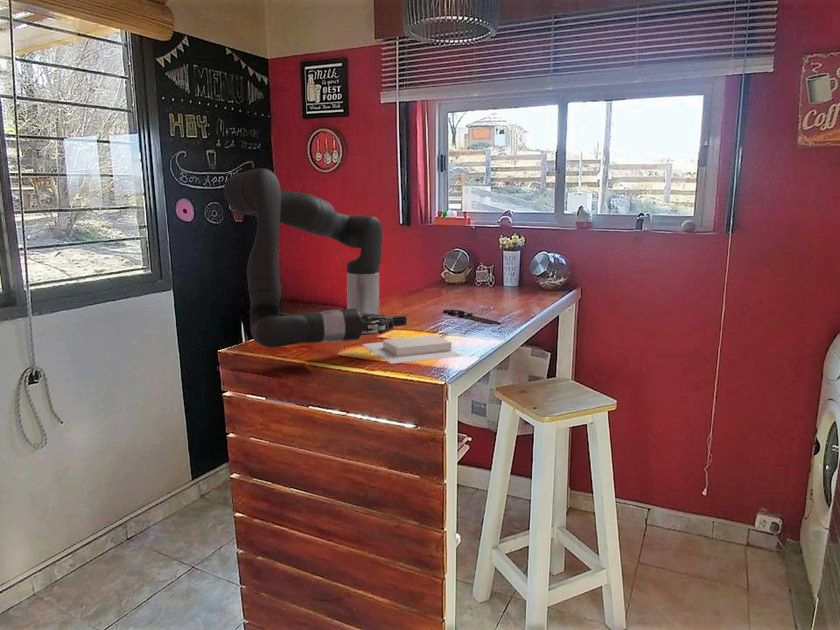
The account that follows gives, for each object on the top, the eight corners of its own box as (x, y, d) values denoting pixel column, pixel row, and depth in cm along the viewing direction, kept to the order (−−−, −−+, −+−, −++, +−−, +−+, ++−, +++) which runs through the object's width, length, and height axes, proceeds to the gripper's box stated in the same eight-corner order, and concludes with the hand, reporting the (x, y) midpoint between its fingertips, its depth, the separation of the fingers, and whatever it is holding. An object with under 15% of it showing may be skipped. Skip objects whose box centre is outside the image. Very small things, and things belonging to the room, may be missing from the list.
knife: (504, 325, 189) (504, 321, 189) (488, 328, 186) (489, 323, 186) (455, 312, 210) (455, 308, 210) (440, 313, 206) (440, 309, 206)
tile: (382, 339, 154) (435, 335, 160) (382, 347, 154) (435, 342, 161) (396, 348, 146) (451, 342, 152) (396, 356, 146) (451, 350, 153)
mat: (361, 347, 158) (361, 344, 158) (426, 340, 166) (426, 338, 166) (390, 366, 140) (391, 363, 140) (462, 358, 148) (462, 355, 148)
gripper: (347, 315, 137) (416, 310, 144) (330, 305, 148) (395, 301, 156) (347, 347, 138) (416, 340, 146) (330, 335, 150) (394, 329, 157)
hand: (405, 320), depth 151 cm, fingers closed
